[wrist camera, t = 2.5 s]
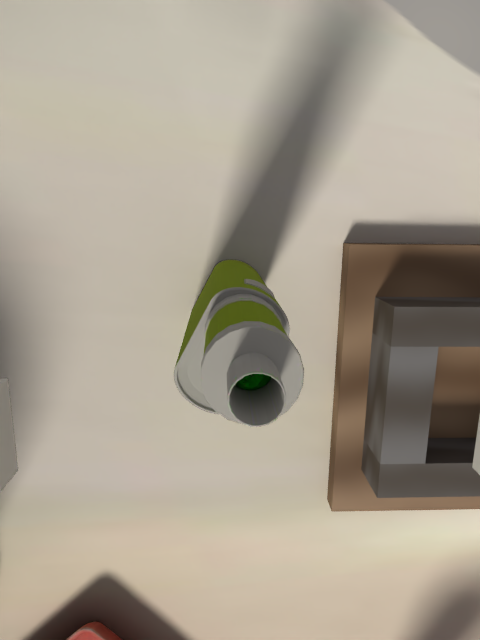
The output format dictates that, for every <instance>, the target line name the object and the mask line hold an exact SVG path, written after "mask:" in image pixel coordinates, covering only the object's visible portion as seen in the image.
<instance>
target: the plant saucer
mask: <svg viewBox="0 0 480 640" xmlns="http://www.w3.org/2000/svg"><path fill="white" fill-rule="evenodd" d="M66 640H122V639H121V638H120V637H119V636H117V635H116V634H115V633H114V632H112V631H111V630H110V629H109V628H107V627H106V626H105V625H103V624H102V623H100V622H91V623H87V624H85V625H84V626H82V627H81V628H79V629H78V630H77V631H76V632H74V633H73V634H72V635H71V636H70V637H68V638H67V639H66Z"/></svg>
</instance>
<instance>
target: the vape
mask: <svg viewBox="0 0 480 640" xmlns="http://www.w3.org/2000/svg"><path fill="white" fill-rule="evenodd" d="M289 332H290V327H289V322H288V319H287V317H286V315H285V313H284V311H283V310H282V308H281V307H280V305H279V304H278V302H277V301H276V299H275V298H274V295H273V293H272V292H271V290H270V289H269V288H267V286H266V285H265V283H264V282H263V280H262V279H261V277H260V276H259V274H258V273H257V272H256V270H255V269H254V268H252V267H251V266H250V265H248V264H246V263H244V262H242V261H238V260H224V261H221V262H219V263H218V264H217V265H216V266H215V267H214V269H213V271H212V273H211V275H210V277H209V279H208V280H207V282H206V284H205V286H204V288H203V290H202V292H201V294H200V296H199V298H198V300H197V301H196V303H195V305H194V307H193V309H192V312H191V315H190V319H189V322H188V325H187V329H186V332H185V336H184V339H183V342H182V346H181V349H180V353H179V356H178V359H177V363H176V366H175V370H174V380H175V384H176V386H177V388H178V390H179V392H180V393H181V394H182V396H183V397H184V398H185V399H186V400H188V401H189V402H190V403H191V404H193V405H194V406H196V407H198V408H200V409H202V410H204V411H207V412H210V413H214V414H220V415H222V416H223V417H225V418H226V419H227V420H230V421H234V422H237V423H240V424H244V425H248V426H251V427H261V426H265V425H268V424H270V423H272V422H273V421H275V420H276V419H278V417H279V416H281V415H282V414H284V413H285V412H287V411H288V410H289V409H290V407H291V406H292V405H293V404H294V403H295V401H296V400H297V399H298V396H299V394H300V391H301V389H302V386H303V377H304V368H303V364H302V361H301V357H300V354H299V352H298V350H297V349H296V347H295V346H294V344H293V343H292V342H291V340H290V339H289Z"/></svg>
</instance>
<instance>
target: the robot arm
mask: <svg viewBox="0 0 480 640" xmlns="http://www.w3.org/2000/svg"><path fill="white" fill-rule="evenodd" d="M472 468H473V469H474V470H475V471H476V472H477V473H478V474H479V475H480V416H479V423H478V430H477V437H476V444H475V451H474V458H473V465H472ZM17 471H18V465H17V456H16V447H15V438H14V428H13V419H12V410H11V401H10V392H9V382H8V378H0V492H1V491H2V489H3V488H4V487H5V486H6V485H7V483H8V482H9V481H10V480H11V478H12V477H13V476H14V475H15V473H16V472H17Z"/></svg>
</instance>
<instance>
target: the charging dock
mask: <svg viewBox="0 0 480 640" xmlns="http://www.w3.org/2000/svg"><path fill="white" fill-rule="evenodd" d="M479 416H480V245H476V244H382V243H343V258H342V273H341V289H340V305H339V321H338V337H337V353H336V369H335V385H334V401H333V417H332V433H331V448H330V464H329V480H328V496H327V500H328V502H329V505H330V508H331V510H332V511H385V510H445V509H480V475H479V474H478V473H477V472H476V471H475V470H474V469H473V468H472V465H473V458H474V451H475V444H476V437H477V430H478V423H479Z"/></svg>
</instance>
